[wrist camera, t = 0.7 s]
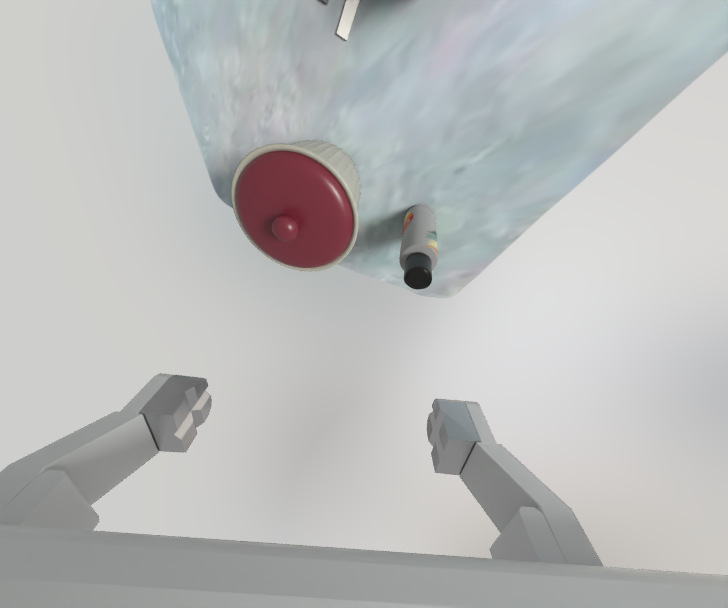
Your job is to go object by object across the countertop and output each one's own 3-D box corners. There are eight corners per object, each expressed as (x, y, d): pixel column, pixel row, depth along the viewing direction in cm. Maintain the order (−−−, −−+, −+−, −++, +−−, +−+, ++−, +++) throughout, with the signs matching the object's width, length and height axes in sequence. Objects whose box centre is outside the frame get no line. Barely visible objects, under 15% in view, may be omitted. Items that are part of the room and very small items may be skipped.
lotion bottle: (400, 226, 54) (390, 288, 39) (412, 199, 50) (406, 257, 35) (426, 236, 54) (427, 301, 40) (440, 210, 50) (447, 272, 36)
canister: (264, 189, 53) (199, 242, 38) (303, 93, 42) (232, 113, 27) (342, 242, 58) (312, 308, 43) (395, 168, 47) (380, 222, 32)
